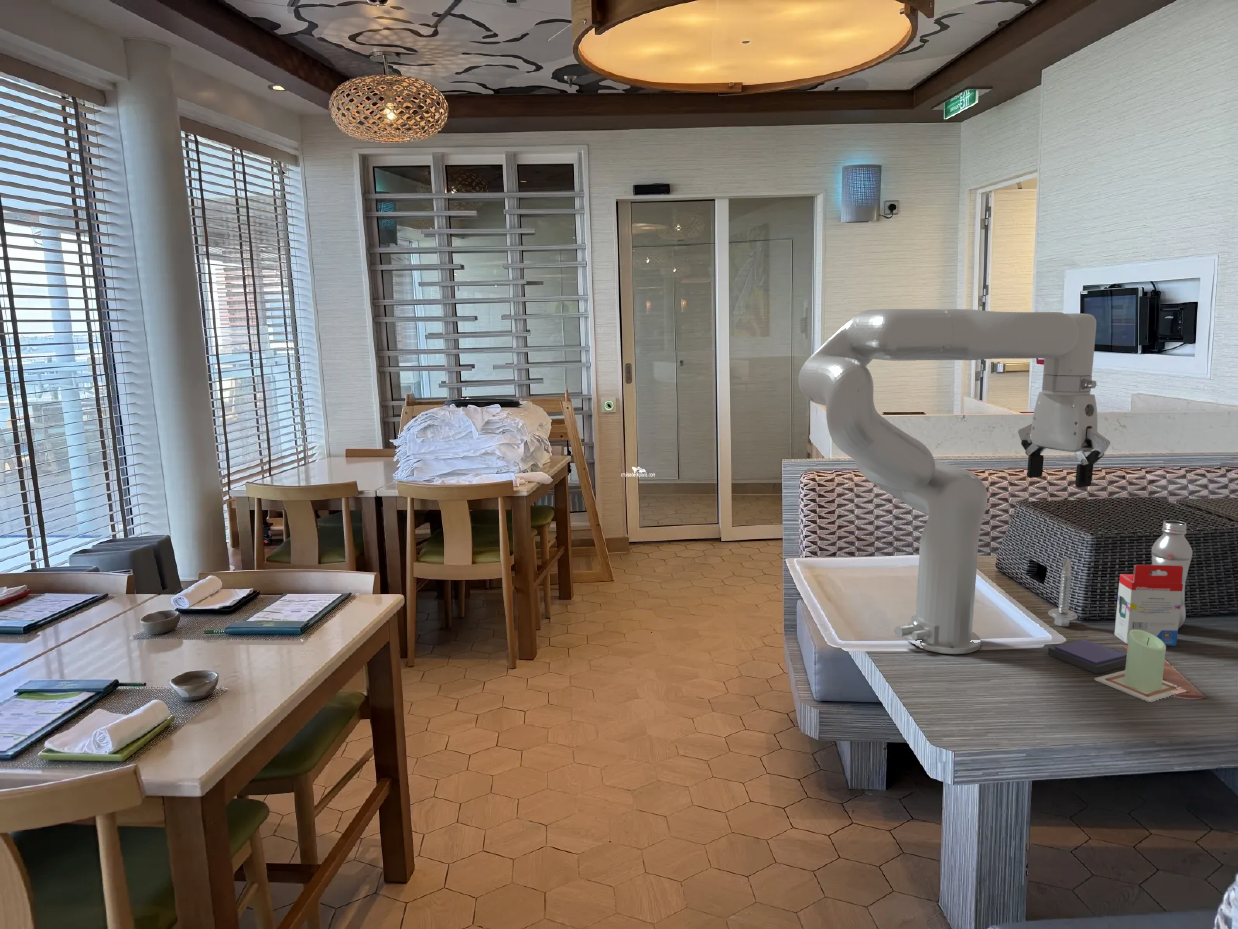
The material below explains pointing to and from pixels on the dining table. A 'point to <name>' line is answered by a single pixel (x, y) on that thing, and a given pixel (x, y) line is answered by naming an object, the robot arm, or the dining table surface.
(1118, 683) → the square coaster
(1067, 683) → the dining table surface
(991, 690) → the dining table surface
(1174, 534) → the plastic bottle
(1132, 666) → the candle
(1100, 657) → the ink pad
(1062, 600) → the screw
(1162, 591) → the ink box
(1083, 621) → the dining table surface
